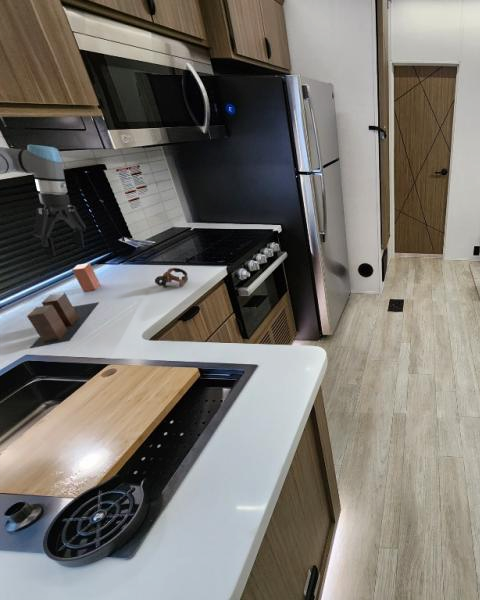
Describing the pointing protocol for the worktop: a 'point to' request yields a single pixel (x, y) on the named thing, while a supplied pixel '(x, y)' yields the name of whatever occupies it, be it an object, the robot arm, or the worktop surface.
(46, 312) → the dark brown cuboid
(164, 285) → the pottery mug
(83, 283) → the terracotta toy brick
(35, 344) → the dark gray mat
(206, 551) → the worktop surface
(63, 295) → the brown wooden block
